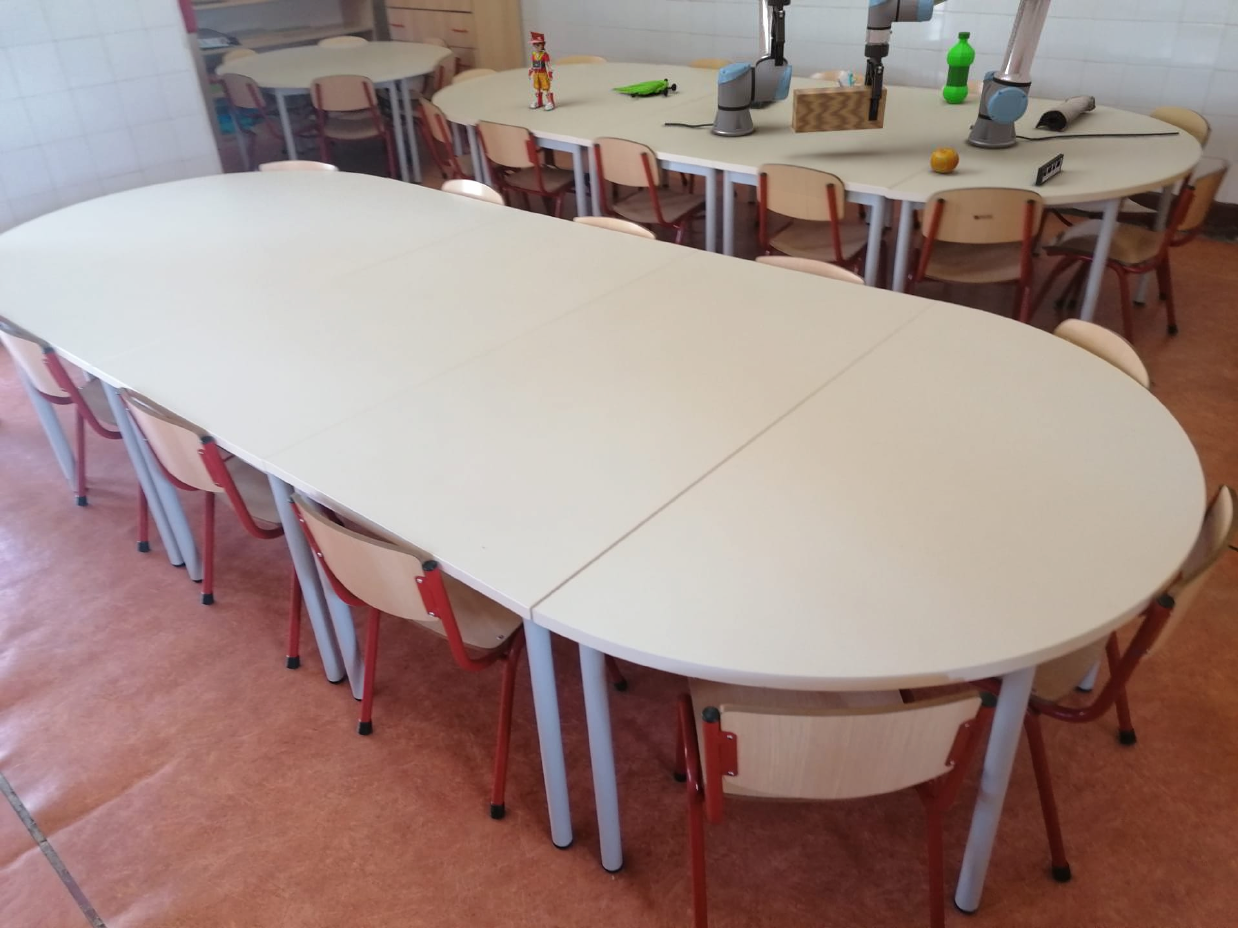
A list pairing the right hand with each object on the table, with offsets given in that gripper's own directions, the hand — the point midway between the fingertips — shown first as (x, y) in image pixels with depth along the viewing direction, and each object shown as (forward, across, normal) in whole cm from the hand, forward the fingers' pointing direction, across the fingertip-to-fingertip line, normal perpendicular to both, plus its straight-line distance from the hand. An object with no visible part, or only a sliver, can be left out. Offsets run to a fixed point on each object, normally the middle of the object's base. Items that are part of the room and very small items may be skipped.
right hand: (869, 117), depth 299 cm
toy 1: (+11, +88, +118) cm, 148 cm away
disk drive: (+12, +75, +28) cm, 81 cm away
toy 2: (+11, +108, +76) cm, 132 cm away
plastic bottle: (+12, +62, -48) cm, 79 cm away
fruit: (+12, -25, -19) cm, 33 cm away
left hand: (-16, +14, +30) cm, 37 cm away
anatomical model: (+12, +82, -11) cm, 84 cm away
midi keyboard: (+12, -36, -48) cm, 61 cm away
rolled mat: (+12, +27, -77) cm, 83 cm away
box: (+3, 0, +11) cm, 11 cm away
